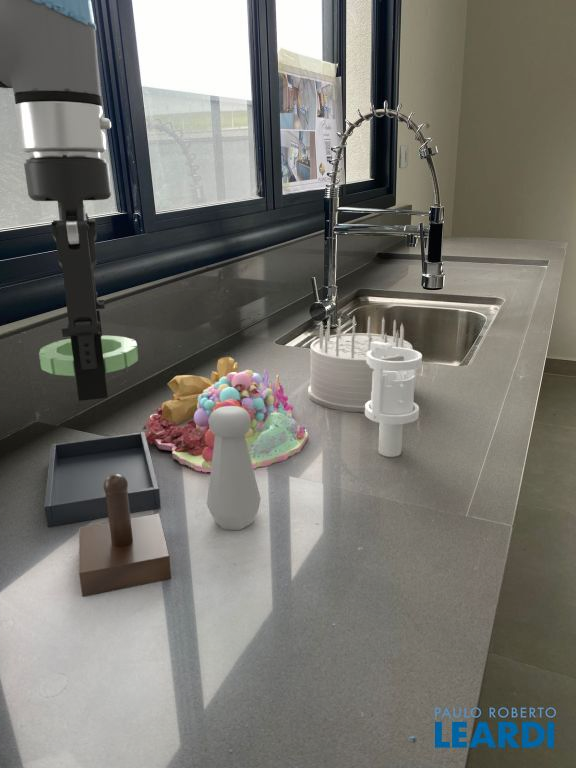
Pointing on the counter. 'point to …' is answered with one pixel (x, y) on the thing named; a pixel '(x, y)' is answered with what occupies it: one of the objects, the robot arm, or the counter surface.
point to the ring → (114, 349)
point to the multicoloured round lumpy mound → (226, 388)
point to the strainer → (392, 394)
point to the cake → (347, 366)
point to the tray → (98, 477)
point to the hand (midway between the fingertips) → (93, 382)
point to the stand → (121, 546)
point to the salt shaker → (232, 470)
